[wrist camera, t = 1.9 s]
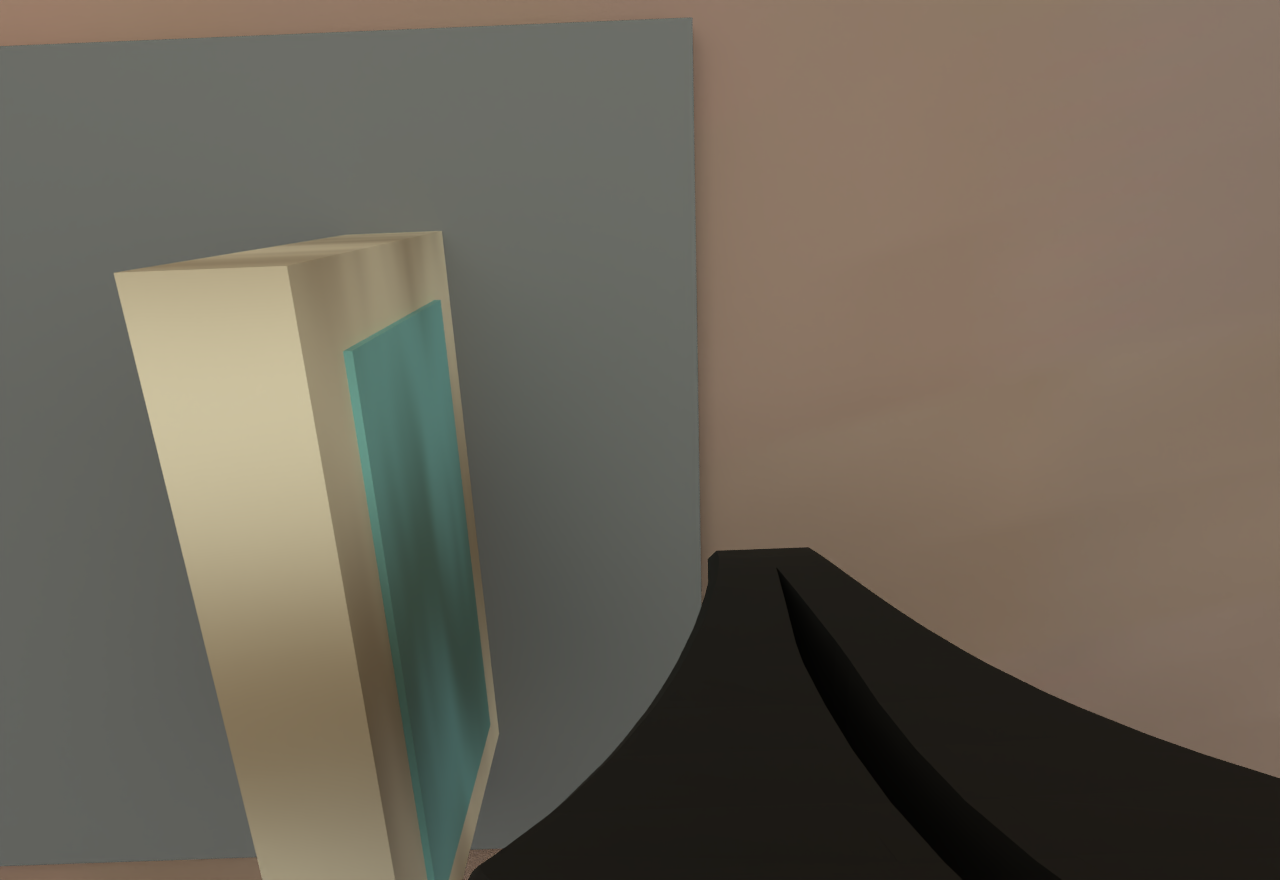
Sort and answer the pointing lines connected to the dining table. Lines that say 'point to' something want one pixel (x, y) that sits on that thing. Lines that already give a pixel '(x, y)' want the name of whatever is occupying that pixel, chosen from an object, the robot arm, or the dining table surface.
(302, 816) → the slab
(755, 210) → the dining table surface
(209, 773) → the mat
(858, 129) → the dining table surface
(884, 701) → the robot arm
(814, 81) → the dining table surface
